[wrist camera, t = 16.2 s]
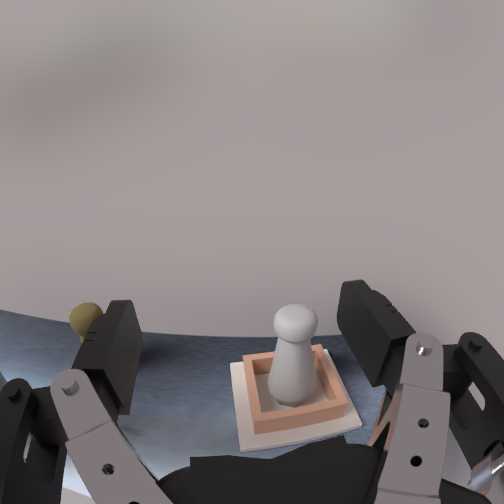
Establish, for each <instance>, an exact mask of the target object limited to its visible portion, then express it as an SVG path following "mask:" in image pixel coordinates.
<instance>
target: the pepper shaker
mask: <svg viewBox="0 0 504 504" xmlns="http://www.w3.org/2000/svg"><path fill="white" fill-rule="evenodd" d="M100 314H103V312H102V310H101V308H100V307H99V306H98V305H96V304H95V303H83V304H80V305H78V306H77V307H75V308H74V309H73V310H72V312H71V314H70V325H71V327H72V329H73V330H74V331H75V332H76V334H78V335H79V337H80V340H81V343H82V342H84V338H85V336H86V334H87V331H88V329H89V327H90V325H91V323H92V322H93V321H94V320H95V319H96V318H97V317H98V316H99V315H100Z"/></svg>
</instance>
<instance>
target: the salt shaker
mask: <svg viewBox="0 0 504 504" xmlns="http://www.w3.org/2000/svg"><path fill="white" fill-rule="evenodd" d="M317 325H318V320H317V315H316V313H315V311H313V310H312V309H310V308H309V307H308V306H305V305H302V304H290V305H286V306H284V307H283V308H281V309H280V310H278V311H277V313H276V315H275V317H274V329H275V332H276V335H277V336H278V341H277V345H276V350H275V354H274V358H273V362H272V366H271V370H270V374H269V378H268V387H269V392H270V393H271V394H272V396H273V397H274V398H275V399H276V400H277V402H278V403H279V404H280V405H284V406H289V407H293V408H295V407H296V406H298V405H300V404H302V403H303V402H305V401H307V400H308V399H309V398H310V397H311V396H312V395H313V394H314V392H315V389H316V385H317V379H316V373H315V366H314V360H313V353H312V347H311V340H310V339H311V338H312V337H313V336H314V334H315V333H316V329H317Z"/></svg>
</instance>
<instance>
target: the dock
mask: <svg viewBox="0 0 504 504" xmlns="http://www.w3.org/2000/svg"><path fill="white" fill-rule="evenodd" d="M311 347H312V353H313V360H314V366H315V373H316V379H317V385H316V389H315V392H314V394H313V395H312V396H311V397H310V398H309V399H308V400H307V401H305V402H303V403H302V404H300V405H298V406H296V407H295V408H293V407H289V406H284V405H280V404H279V403H278V402H277V400H276V399H275V398H274V397H273V396H272V394H271V393H270V392H269V387H268V378H269V374H270V370H271V366H272V362H273V358H274V354H275V352H268V353H260V354H252V355H243V362H236V363H230V368H231V377H232V387H233V396H234V405H235V413H236V422H237V430H238V438H239V446H240V452H248V451H256V450H264V449H271V448H277V447H283V446H289V445H294V444H299V443H304V442H309V441H313V440H318V439H322V438H326V437H330V436H334V435H338V434H341V433H345V432H349V431H352V430H355V429H359V428H361V427H362V422H361V420H360V418H359V416H358V414H357V412H356V409H355V407H354V405H353V403H352V401H351V399H350V397H349V395H348V392H347V390H346V388H345V386H344V384H343V382H342V380H341V378H340V376H339V374H338V372H337V370H336V367H335V365H334V363H333V361H332V359H331V357H330V355H329V353H328V351H327V349H324V350H323V348H322V346H321V344H319V345H313V346H311Z"/></svg>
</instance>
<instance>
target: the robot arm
mask: <svg viewBox="0 0 504 504" xmlns="http://www.w3.org/2000/svg"><path fill="white" fill-rule="evenodd" d="M337 323H338V327H339V329H340V331H341V333H342V334H343V336H344V338H345V340H346V341H347V343H348V345H349V347H350V348H351V350H352V352H353V353H354V355H355V357H356V359H357V361H358V362H359V364H360V366H361V368H362V369H363V371H364V373H365V375H366V377H367V378H368V380H369V382H370V384H371V386H372V387H377V386H380V385H383V384H384V386H385V387H386V390H385V392H384V394H383V398H382V402H381V405H380V409H379V413H378V416H377V419H376V423H375V426H374V429H373V432H372V435H371V437H370V439H369V441H368V443H367V445H362V444H347V443H346V440H345V438H344V435H342V436H338V437H334V438H330V439H326V440H322V441H318V442H314V443H309V444H306V445H304V446H302V447H300V448H297V449H295V450H293V451H290V452H288V453H286V454H283V455H281V456H278V457H276V458H273V459H259V458H248V457H239V456H231V455H225V456H207V457H190V466H189V467H185V468H182V469H179V470H176V471H174V472H172V473H170V474H168V475H166V476H165V477H163V478H161V479H160V480H159V479H158V478H157V477H156V476H155V475H154V473H153V472H152V471H151V470H150V469H149V467H148V466H147V465H146V464H145V462H144V461H143V460H142V458H141V457H140V456H139V454H138V453H137V452H136V450H135V449H134V448H133V446H132V445H131V443H130V442H129V440H128V439H127V437H126V436H125V434H124V433H123V431H122V430H121V428H120V427H119V425H118V424H117V418H118V414H120V415H129V412H130V406H131V401H132V395H133V390H134V385H135V379H136V374H137V370H138V365H139V360H140V356H141V351H142V346H143V339H142V332H141V329H140V326H139V323H138V319H137V316H136V312H135V309H134V305H133V303H132V301H131V300H114V301H111V302H110V305H109V306H108V309H107V311H106V313H105V314H100V315H99V316H98V317H97V318H96V319H95V320H94V321H93V322H92V323H91V325H90V327H89V329H88V331H87V334H86V336H85V338H84V342H82V345H81V347H80V349H79V351H78V354H77V356H76V358H75V361H74V363H73V366H72V368H71V369H69V370H66V371H63V372H61V373H60V374H58V375H57V376H56V377H55V378H54V380H53V381H52V383H51V386H48V387H42V388H36V389H32V388H31V386H30V385H29V383H28V382H27V381H26V380H24V379H21V378H17V379H13V380H10V381H9V382H7V381H6V379H5V378H4V376H3V375H2V374H1V372H0V504H60V501H61V490H62V482H63V474H64V467H65V460H66V454H67V450H68V452H69V455H70V457H71V459H72V461H73V463H74V465H75V467H76V469H77V471H78V473H79V475H80V477H81V479H82V481H83V482H84V484H85V486H86V488H87V490H88V491H89V493H90V495H91V496H92V498H93V500H94V501H95V503H96V504H504V360H503V359H502V358H501V356H500V355H499V354H498V353H497V351H496V350H495V349H494V348H493V347H492V345H491V344H490V343H489V342H488V341H487V340H486V339H485V338H484V337H483V336H481V335H480V334H477V333H474V332H467V333H464V334H463V335H462V336H461V337H460V340H459V342H458V344H453V345H442V344H441V343H440V342H439V341H438V340H437V339H436V338H435V337H433V336H432V335H429V334H425V333H416V331H415V330H414V329H413V328H412V327H411V326H410V324H409V323H408V322H407V321H406V320H405V318H403V316H402V315H401V314H400V313H399V312H398V311H397V309H396V308H395V307H394V306H392V304H391V302H390V301H389V300H388V299H387V298H386V297H385V296H384V295H382V294H380V293H379V292H377V291H375V290H371V289H370V287H369V286H368V285H367V284H366V283H365V282H364V281H363V280H354V281H346V282H343V284H342V287H341V293H340V299H339V305H338V312H337ZM472 382H474V383H475V385H476V386H477V388H478V389H479V391H480V392H481V394H482V395H483V397H484V399H485V408H484V410H483V411H482V410H481V408H480V407H479V405H478V404H477V402H476V401H475V399H474V397H473V396H472V394H471V393H470V391H469V390H468V388H469V386H470V385H471V383H472ZM448 427H450V429H451V431H452V432H453V435H454V436H455V438H456V440H457V442H458V444H459V446H460V448H461V450H462V452H463V454H464V456H465V458H466V460H467V462H468V464H469V466H470V468H471V470H472V473H471V480H470V481H469V482H468V485H467V487H468V488H465V487H462V486H459V485H457V484H454V483H452V482H449V481H447V480H445V479H442V478H441V476H442V471H443V465H444V459H445V452H446V445H447V437H448ZM25 459H26V463H25V462H24V460H25Z"/></svg>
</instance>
